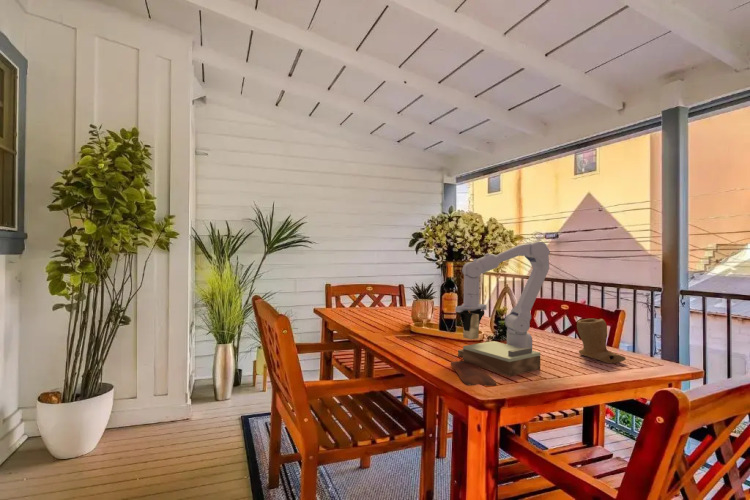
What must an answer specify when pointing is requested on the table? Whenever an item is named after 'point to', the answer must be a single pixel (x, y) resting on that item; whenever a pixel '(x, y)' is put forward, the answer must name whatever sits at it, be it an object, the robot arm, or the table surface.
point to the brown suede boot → (596, 341)
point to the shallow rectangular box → (500, 363)
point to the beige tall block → (472, 328)
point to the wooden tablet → (472, 374)
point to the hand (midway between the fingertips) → (471, 330)
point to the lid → (502, 351)
